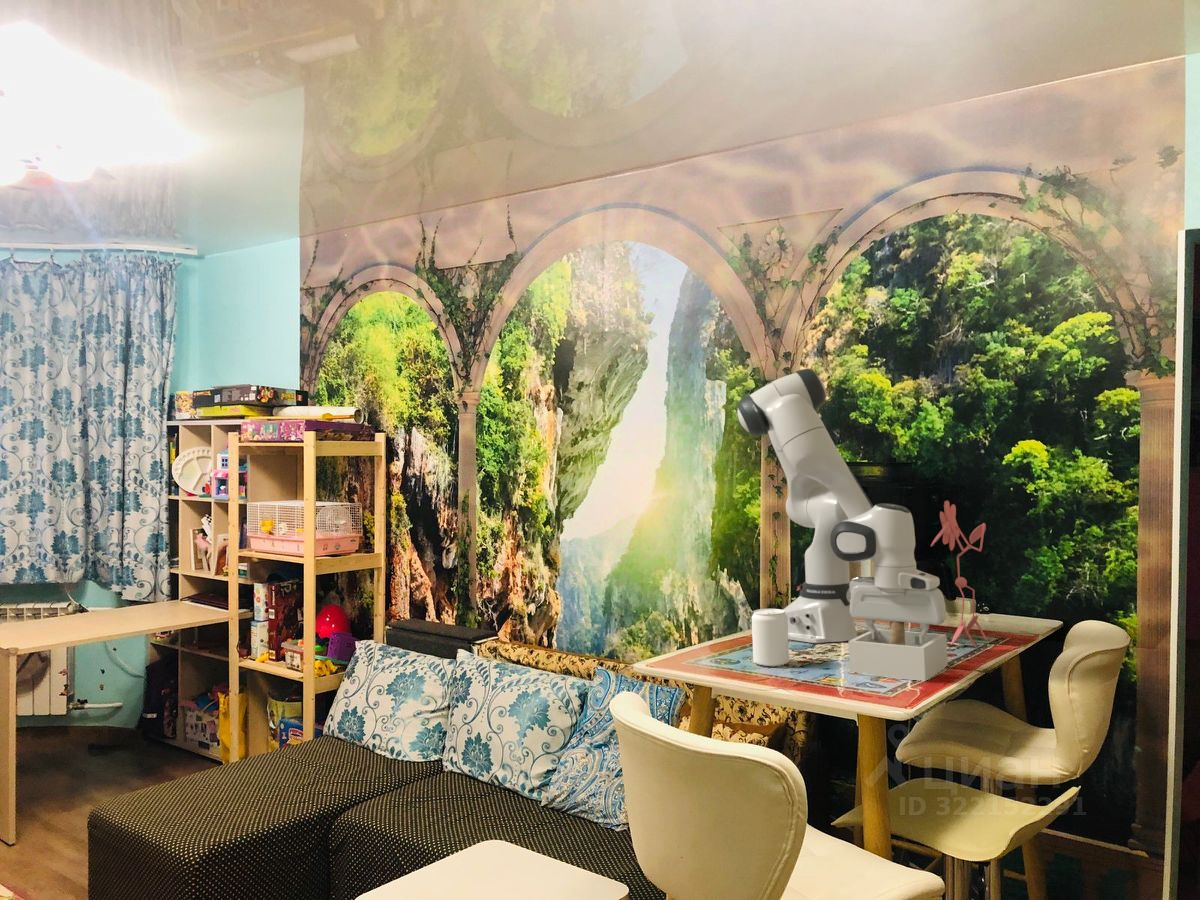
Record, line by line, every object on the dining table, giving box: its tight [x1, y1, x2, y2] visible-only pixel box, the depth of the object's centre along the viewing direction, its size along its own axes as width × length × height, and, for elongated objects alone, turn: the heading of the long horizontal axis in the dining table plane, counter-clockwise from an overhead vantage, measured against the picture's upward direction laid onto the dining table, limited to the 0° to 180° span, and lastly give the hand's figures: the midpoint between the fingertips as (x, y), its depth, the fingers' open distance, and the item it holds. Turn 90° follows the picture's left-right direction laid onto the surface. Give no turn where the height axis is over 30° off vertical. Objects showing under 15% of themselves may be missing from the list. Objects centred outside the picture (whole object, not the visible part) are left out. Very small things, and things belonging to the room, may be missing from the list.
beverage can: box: [751, 608, 790, 667], centre depth 207 cm, size 8×8×12 cm
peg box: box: [848, 628, 948, 682], centre depth 197 cm, size 16×16×7 cm
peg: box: [889, 621, 906, 645], centre depth 197 cm, size 3×3×10 cm
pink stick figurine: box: [930, 500, 997, 648], centre depth 225 cm, size 15×26×35 cm, turn 141°
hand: (897, 641), depth 197 cm, fingers open, 8 cm apart
